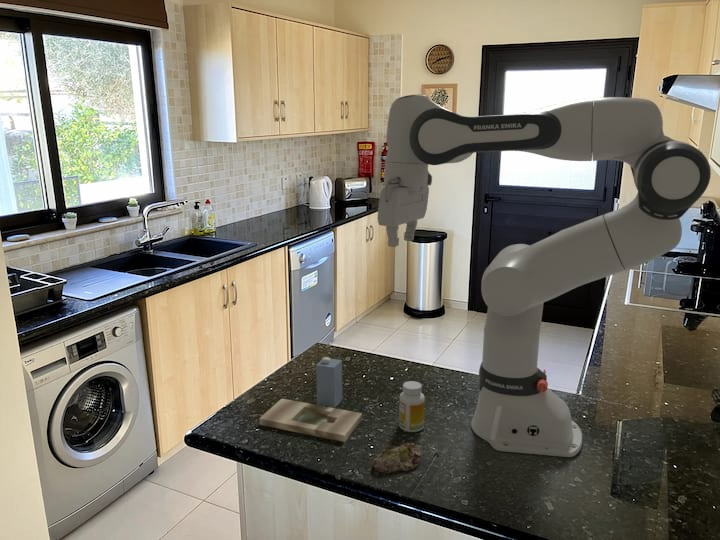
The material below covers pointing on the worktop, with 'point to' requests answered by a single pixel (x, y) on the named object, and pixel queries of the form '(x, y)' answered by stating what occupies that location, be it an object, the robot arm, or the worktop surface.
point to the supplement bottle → (411, 407)
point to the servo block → (329, 382)
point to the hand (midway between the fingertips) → (401, 243)
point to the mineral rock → (398, 458)
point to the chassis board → (311, 419)
